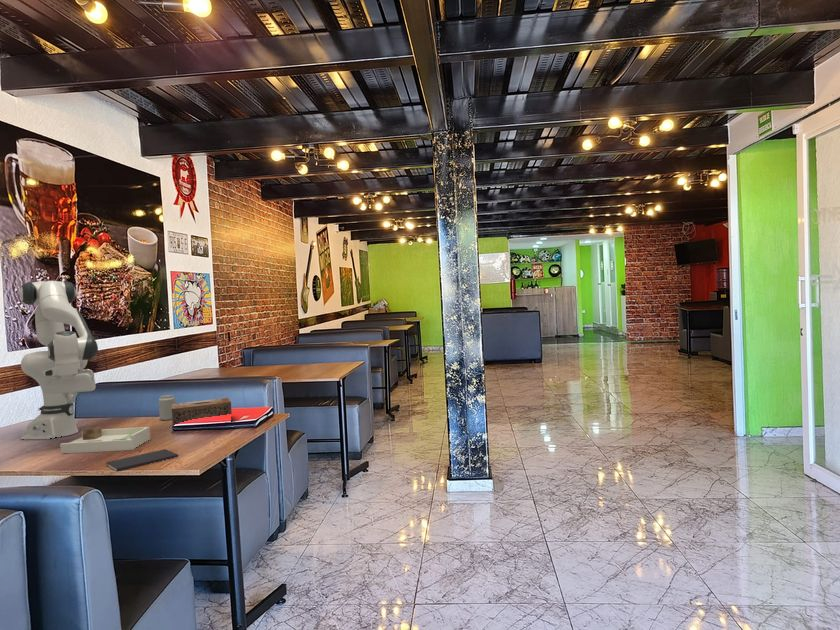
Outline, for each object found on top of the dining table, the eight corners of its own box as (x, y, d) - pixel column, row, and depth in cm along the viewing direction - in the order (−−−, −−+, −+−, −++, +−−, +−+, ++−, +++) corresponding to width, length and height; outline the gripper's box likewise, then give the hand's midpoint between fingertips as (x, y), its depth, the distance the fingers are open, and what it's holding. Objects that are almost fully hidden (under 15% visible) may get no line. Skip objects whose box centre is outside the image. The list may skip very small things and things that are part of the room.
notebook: (116, 473, 197) (178, 458, 212) (116, 468, 197) (178, 454, 212) (105, 466, 206) (165, 452, 221) (105, 462, 206) (165, 448, 221)
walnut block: (82, 439, 235) (82, 430, 235) (89, 436, 240) (89, 427, 240) (95, 439, 235) (94, 429, 235) (101, 436, 240) (101, 426, 240)
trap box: (61, 453, 225) (60, 440, 225) (83, 443, 241) (82, 430, 241) (132, 449, 226) (131, 436, 226) (150, 439, 242) (149, 426, 242)
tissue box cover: (229, 417, 283) (228, 397, 282) (232, 422, 269) (230, 402, 269) (173, 424, 272) (171, 403, 272) (173, 430, 259) (171, 408, 259)
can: (170, 421, 280) (168, 396, 279) (156, 421, 281) (154, 397, 281) (179, 417, 287) (177, 394, 287) (166, 417, 289) (164, 394, 288)
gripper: (97, 367, 240) (99, 400, 240) (48, 370, 239) (50, 403, 239) (89, 369, 233) (91, 403, 234) (38, 372, 233) (41, 406, 233)
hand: (70, 403), depth 237 cm, fingers closed
